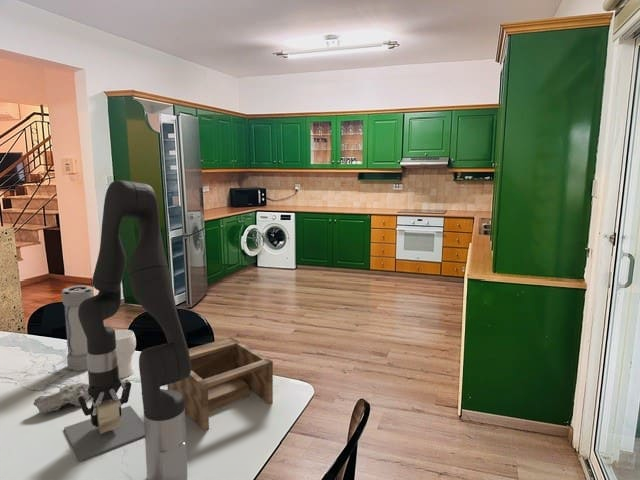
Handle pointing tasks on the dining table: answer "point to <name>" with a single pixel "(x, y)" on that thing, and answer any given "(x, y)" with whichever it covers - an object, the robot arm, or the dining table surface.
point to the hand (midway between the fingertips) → (106, 421)
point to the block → (108, 415)
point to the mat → (104, 435)
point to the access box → (223, 378)
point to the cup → (125, 351)
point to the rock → (61, 398)
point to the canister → (75, 326)
